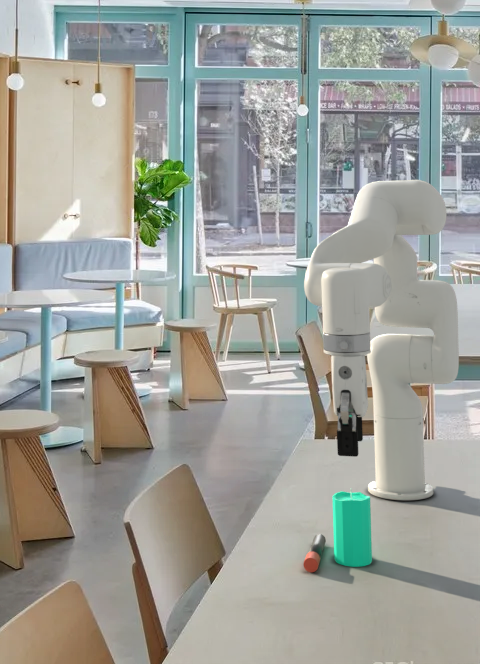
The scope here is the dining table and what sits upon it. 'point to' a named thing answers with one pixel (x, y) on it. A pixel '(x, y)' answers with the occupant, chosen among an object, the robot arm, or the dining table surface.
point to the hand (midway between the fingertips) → (350, 448)
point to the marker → (314, 553)
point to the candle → (352, 529)
